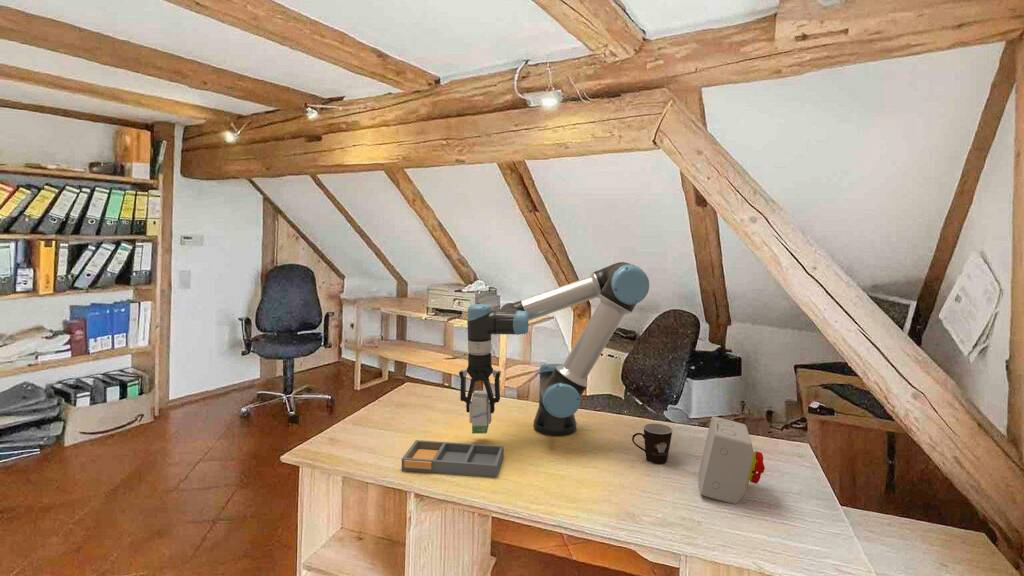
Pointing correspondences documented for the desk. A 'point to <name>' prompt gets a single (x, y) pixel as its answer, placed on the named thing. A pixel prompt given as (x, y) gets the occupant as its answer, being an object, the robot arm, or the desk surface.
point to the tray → (453, 458)
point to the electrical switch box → (728, 461)
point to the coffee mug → (656, 442)
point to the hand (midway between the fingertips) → (480, 421)
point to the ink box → (480, 412)
